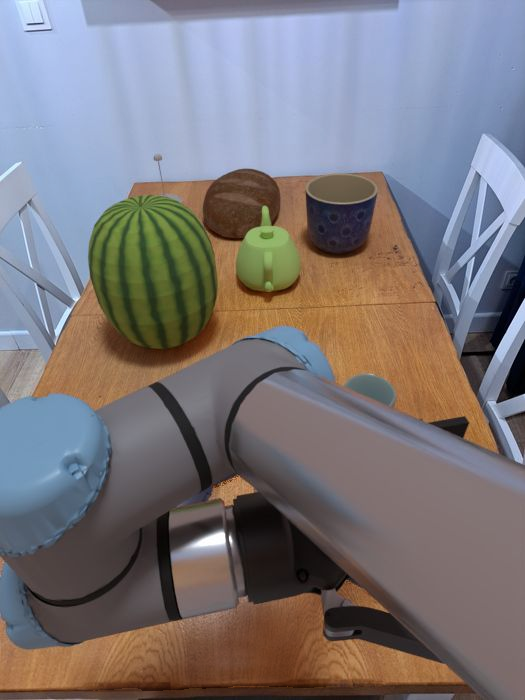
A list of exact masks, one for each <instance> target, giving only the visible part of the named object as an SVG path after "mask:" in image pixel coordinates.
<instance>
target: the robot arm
mask: <svg viewBox="0 0 525 700" xmlns="http://www.w3.org/2000/svg"><path fill="white" fill-rule="evenodd" d="M469 424H470V422H469V420H468V418H467V417H466V415H464V416H458V417H452V418H446V419H440V420H436V421H430V422H429V421H428V422H427V421H425V420H423V418H418V417H416V416H413V415H411V414H409V413H406V412H403V411H402V410H399V409H397V408H395V407H394V408H392V407H390V406H388V405H386V404H383V403H381V402H379V401H376V400H374V399H372V398H370V397H367V396H365V395H363V394H360V393H358V392H356V391H353V390H351V389H349V388H347V387H344V385H342V384H339V383H338V382H336V377H335V374H334V371H333V369H332V366H331V364H330V362H329V360H328V359H327V357H326V356H325V354H324V352H323V350H322V349H321V348H320V346H319V345H318V344H317V343H315V342H311V341H310V340H309V338H308V335H307V334H306V333H305V332H304V331H303V330H301V329H298V328H297V327H294V326H290V325H278V326H277V325H276V326H274V327H272V328H269V329H266V330H264V331H260V332H259V333H256V334H253V335H246V336H244V337H243V338H241V339H240V338H239V339H237V340H235V341H234V342H233V343H232V344H230V345H229V346H227V347H225V348H223V349H220V350H219V351H217V352H215V353H213V354H210V355H209V356H206V357H204V358H202V359H200V360H198V361H196V362H194V363H192V364H189V365H187V366H186V367H184V368H182V369H179V370H178V371H175V372H174V373H172V374H170V375H168V376H166V377H163V378H162V379H159V380H157V381H156V382H155V381H154V382H153V383H150V384H149V385H145V386H143V387H141V388H139V389H137V390H134V391H132V392H130V393H129V394H127V395H124V396H122V397H120V398H118V399H116V400H113V401H112V402H110V403H107V404H105V405H103V406H101V407H99V408H97V409H95V410H94V409H93V408H92V406H91V405H90V404H88V403H87V402H86V401H84V400H82V399H81V398H78V397H76V396H73V395H69V394H66V393H60V392H53V393H49V394H48V395H46V396H42V397H41V396H40V397H36V396H32V395H28V396H24V397H21V398H19V399H15V400H13V401H11V402H8V403H6V404H4V405H3V406H1V407H0V558H1V559H2V560H3V564H2V568H1V571H0V572H1V573H0V619H1V620H2V621H3V622H5V634H6V636H7V638H8V639H9V640H10V642H11V643H12V644H13V645H15V646H16V647H18V648H20V649H22V650H27V651H29V650H30V651H32V650H39V649H40V650H41V649H48V648H54V647H61V648H70V647H74V646H77V645H80V644H82V643H84V642H87V641H91V640H96V639H100V638H103V637H104V638H105V637H109V636H114V635H118V634H123V633H128V632H133V631H136V630H141V629H146V628H150V627H154V626H159V625H163V624H164V625H165V624H168V623H172V622H177V621H182V620H187V619H192V618H197V617H202V616H206V615H210V614H216V613H221V612H226V611H229V610H230V611H231V610H234V609H237V608H238V607H239V605H240V599H241V598H246V597H247V601H248V603H252V604H253V606H256V605H261V604H266V603H270V602H275V601H280V600H284V599H288V598H293V597H297V596H300V595H303V594H304V595H305V594H314V595H317V596H320V601H321V608H322V615H323V623H322V635H323V637H324V638H325V640H328V641H329V642H341V641H352V640H360V641H363V642H364V641H365V642H367V643H371V644H374V645H378V646H381V647H384V648H388V649H392V650H395V651H398V652H402V653H406V654H409V655H412V656H416V657H418V658H421V659H425V660H429V661H432V662H437V663H440V664H443V665H445V666H446V667H448V669H450V670H451V671H452V673H454V674H455V675H456V676H457V677H458V678H460V679H461V680H462V681H463V682H464V683H465V684H466V685H467V686H468V687H469V688H470V689H472V690H473V692H475V693H476V695H478V696H479V697H480V698H481V699H482V700H525V464H523V463H521V462H518V461H516V460H514V459H512V458H509V457H507V456H505V455H503V454H500V453H498V452H495V451H494V450H491V449H489V448H486V447H484V446H482V445H480V444H477V443H475V442H472V441H470V440H468V439H466V438H464V437H465V435H466V432H467V431H468V427H469ZM233 473H237V474H238V475H237V476H238V477H240V478H241V479H242V480H243V481H245V482H246V483H248V485H250V486H251V487H252V488H253V489H254V488H255V489H256V490H257V491H258V492H254V491H253V492H249V493H244V494H239V495H236V496H235V497H236V498H232V504H227V505H226V503H225V500H224V499H222V498H221V497H219V498H214V499H210V500H208V501H204V502H199V503H194V504H189V505H184V506H179V507H176V506H178V505H180V504H181V503H183V502H185V501H186V500H188V499H190V498H191V497H193V496H194V495H196V494H198V493H201V492H203V491H204V490H206V489H208V488H209V487H210V486H212V485H214V484H216V483H217V482H219V481H221V480H222V479H224V478H226V477H228V476H229V475H231V474H233ZM214 486H215V485H214ZM346 581H348V582H350V583H351V584H354V585H356V586H357V587H359V588H361V589H362V590H364V591H365V592H366V593H367V594H368V595H369V596H370V597H372V598H373V599H374V600H375V601H376V602H377V603H378V604H379V605H380V606H381V607H382V608H383V609H385V610H386V611H385V610H380V609H377V608H373V607H369V606H362V605H355V603H354V601H352V600H351V599H350V598H347V597H343V596H341V595H339V593H338V591H339V590H340V589H341V588H342V586H343V585H344V584H345V583H346Z"/></svg>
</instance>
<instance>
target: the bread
mask: <svg viewBox="0 0 525 700" xmlns="http://www.w3.org/2000/svg"><path fill="white" fill-rule="evenodd" d="M203 198H204V199H203V203H202V216H203V220H204V222H205V224H206V226H207V227H208V228H209V229H210V230H211V231H213V232H214V233H216V234H217V235H219V236H222V237H224V238H229V239H244V238H245V236H246V234H247V233H248V232H249V231H250V230H251V229H253V228H256V227H261V222H262V207H263V206H267V207H268V210H269V216H270V221H271V224H272V223H273V222H274V221H275V220H276V217H277V216H278V214H279V212H280V211H279V210H280V205H281V191H280V187H279V185H278V184H277V181H276V180H275V179H274V178H273V177H271V176H270V175H269V174H268V173H266V172H264V171H261V170H258V169H255V168H238V169H235V170H232V171H229V172H227V173H225V174H223V175H221V176H219V177H217V179H215V180H214V181H213V182H212V183H211V184H210V185H209V187H208V188H207V190H206V192H205V195H204V197H203Z"/></svg>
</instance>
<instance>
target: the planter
mask: <svg viewBox="0 0 525 700" xmlns="http://www.w3.org/2000/svg"><path fill="white" fill-rule="evenodd" d="M304 189H305V190H304V192H305V206H306V207H305V208H306V209H305V210H306V223H307V224H306V227H307V231H308V232H307V233H308V235H309V238H310V240H311V242H312V243H313V244H314V245H315V246H316V247H317V248H318V249H320V250H321V251H324V252H327V253H329V254H337V255H339V254H346V253H351V252H353V251H355V250H357V249H359V248H360V247H361V246H362V245H364V243H365V242H366V240H367V239H368V236H369V234H370V232H371V227H372V222H373V217H374V213H375V207H376V202H377V197H378V192H379V187H378V185H377V184H376V182H374V181H373V180H371V179H370V178H367V177H366V176H363V175H359V174H353V173H342V172H338V173H337V172H336V173H328V174H327V173H326V174H323V175H320V176H316V177H314V178H312V179H311V180H309V181H308V182H307V183H306V185H305V188H304Z"/></svg>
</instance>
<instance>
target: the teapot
mask: <svg viewBox="0 0 525 700" xmlns="http://www.w3.org/2000/svg"><path fill="white" fill-rule="evenodd" d="M301 263H302V262H301V257H300V252H299V250H298V247H297V246H296V243H295V242H294V240H293V238H292V237H291V235H290V233H289V232H288V231H287V229H285V228H283V227H281V226H276V225H272V223H271V221H270V216H269V210H268V207H267V206H263V207H262V222H261V227H256V228H253V229H251V230H250V231H249V232H248V233H247V234H246V236H245V238H243V240H242V241H241V244H240V246H239V249H238V251H237V254H236V259H235V272H236V275H237V277H238V279H239V280H240V281H241V283H242V284H243V285H244V286H245V287H247V288H248V289H250V290H253V291H257V292H267V293H271V292H274V291H275V292H276V291H281V290H285V289H287V288H289V287H291V286H292V285H293V284H294V283H295V282H296V280H297V279H298V278H299V276H300V274H301V270H302V264H301Z"/></svg>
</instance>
